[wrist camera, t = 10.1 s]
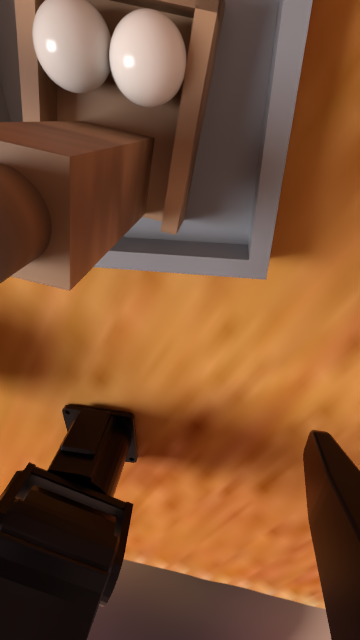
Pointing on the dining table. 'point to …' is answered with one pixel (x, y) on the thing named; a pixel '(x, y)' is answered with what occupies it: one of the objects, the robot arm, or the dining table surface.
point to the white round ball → (72, 44)
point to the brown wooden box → (98, 152)
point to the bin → (216, 145)
